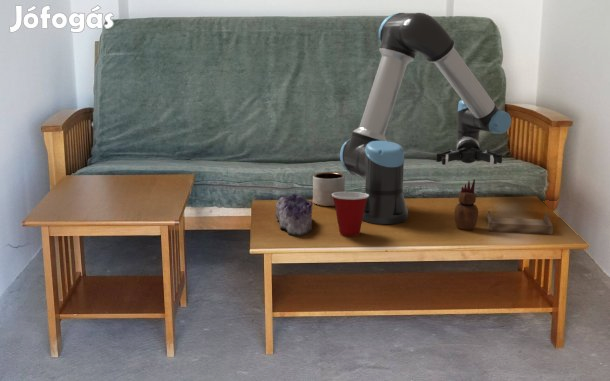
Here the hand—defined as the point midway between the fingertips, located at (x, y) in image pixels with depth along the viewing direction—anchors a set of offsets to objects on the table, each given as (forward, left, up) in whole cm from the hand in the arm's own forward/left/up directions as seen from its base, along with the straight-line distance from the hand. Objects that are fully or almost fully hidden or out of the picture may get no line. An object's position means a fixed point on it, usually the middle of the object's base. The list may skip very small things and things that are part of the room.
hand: (469, 163), depth 213 cm
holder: (+15, -6, -17) cm, 24 cm away
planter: (-46, +11, -18) cm, 50 cm away
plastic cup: (-34, -22, -18) cm, 44 cm away
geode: (-50, -18, -18) cm, 56 cm away
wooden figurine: (-1, -11, -18) cm, 21 cm away
